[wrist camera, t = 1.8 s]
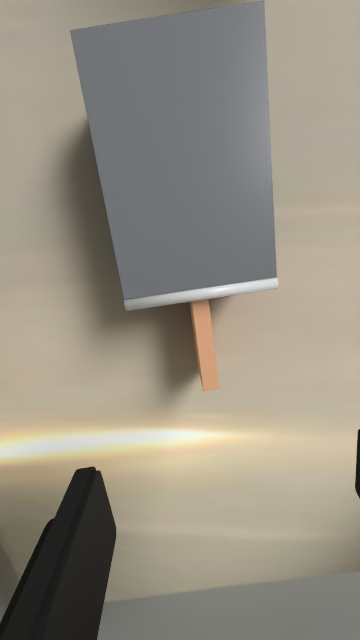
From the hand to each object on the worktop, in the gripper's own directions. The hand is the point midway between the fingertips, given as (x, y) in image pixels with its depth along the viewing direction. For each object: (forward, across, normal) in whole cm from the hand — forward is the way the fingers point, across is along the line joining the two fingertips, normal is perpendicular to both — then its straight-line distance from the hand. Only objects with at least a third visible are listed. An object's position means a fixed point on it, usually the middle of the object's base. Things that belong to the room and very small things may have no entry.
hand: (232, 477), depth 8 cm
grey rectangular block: (+14, -1, -13) cm, 19 cm away
